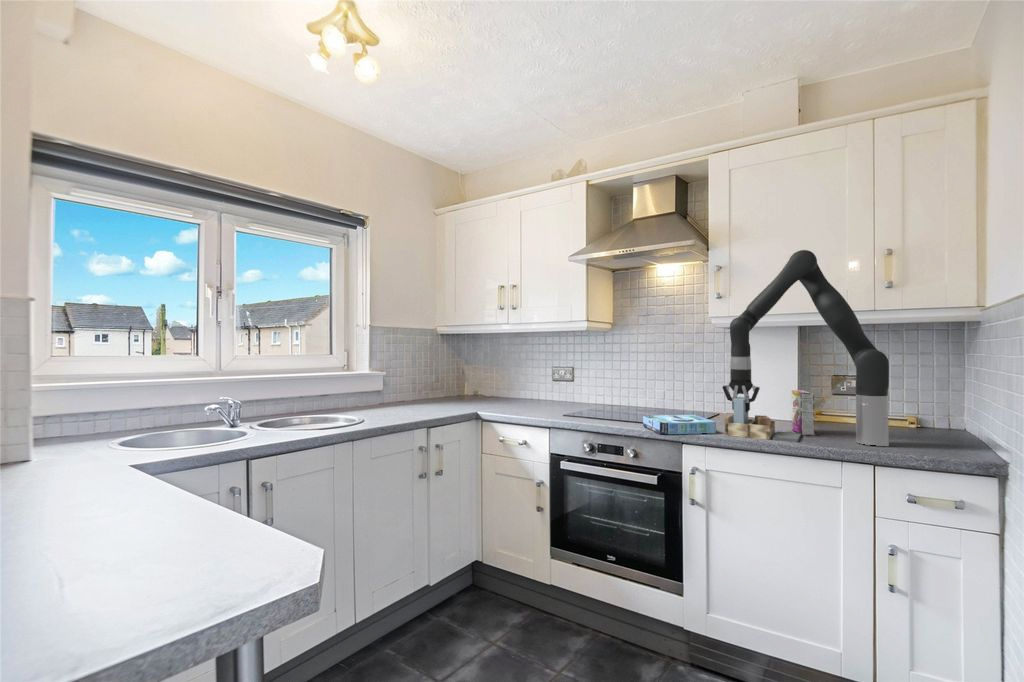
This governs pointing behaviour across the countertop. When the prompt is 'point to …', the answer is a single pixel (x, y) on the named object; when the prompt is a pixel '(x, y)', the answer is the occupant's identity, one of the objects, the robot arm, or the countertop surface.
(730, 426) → the rack
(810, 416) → the candy bar box
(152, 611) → the countertop surface
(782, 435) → the mat
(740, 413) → the tall pale blue pillar
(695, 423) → the gum box
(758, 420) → the offcut upper
